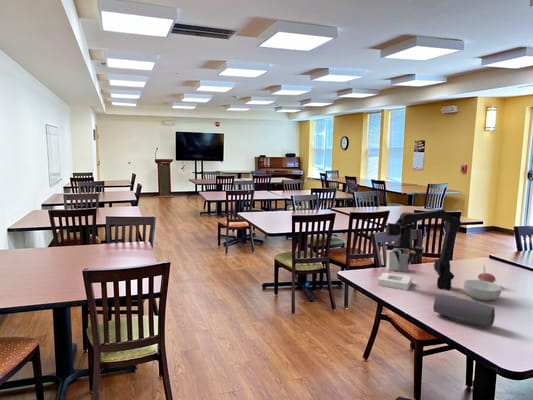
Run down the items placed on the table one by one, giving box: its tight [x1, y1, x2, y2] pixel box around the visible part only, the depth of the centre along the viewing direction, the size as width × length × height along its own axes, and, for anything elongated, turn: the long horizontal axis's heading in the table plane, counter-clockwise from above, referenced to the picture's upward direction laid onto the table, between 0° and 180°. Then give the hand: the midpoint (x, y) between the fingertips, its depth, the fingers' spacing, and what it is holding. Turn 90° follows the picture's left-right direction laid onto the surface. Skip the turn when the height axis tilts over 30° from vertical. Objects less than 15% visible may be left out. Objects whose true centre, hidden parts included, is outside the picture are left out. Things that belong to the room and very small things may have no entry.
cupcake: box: [477, 264, 496, 283], centre depth 217 cm, size 9×8×12 cm
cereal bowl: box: [463, 279, 503, 302], centre depth 198 cm, size 17×17×7 cm
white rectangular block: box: [385, 250, 402, 272], centre depth 247 cm, size 7×7×13 cm
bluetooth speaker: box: [432, 293, 496, 328], centre depth 169 cm, size 23×9×10 cm, turn 48°
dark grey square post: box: [399, 253, 410, 272], centre depth 212 cm, size 4×4×8 cm
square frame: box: [377, 272, 413, 291], centre depth 219 cm, size 16×14×4 cm
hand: (403, 264), depth 212 cm, fingers closed on dark grey square post, 4 cm apart
